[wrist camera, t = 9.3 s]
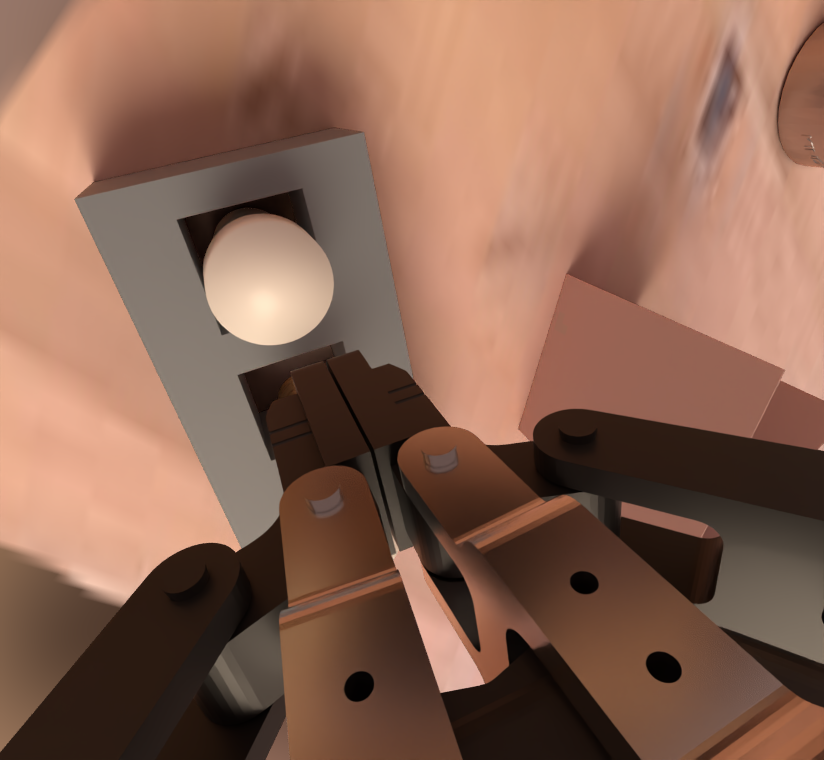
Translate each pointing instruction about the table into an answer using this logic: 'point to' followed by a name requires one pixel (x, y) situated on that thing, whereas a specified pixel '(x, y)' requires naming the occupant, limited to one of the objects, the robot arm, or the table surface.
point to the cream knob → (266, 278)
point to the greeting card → (662, 381)
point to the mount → (190, 312)
